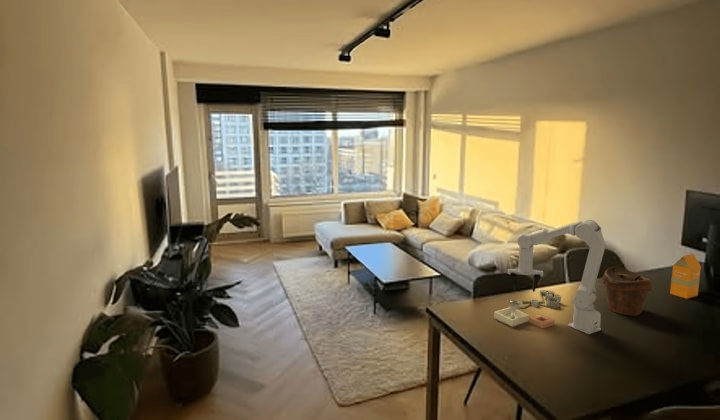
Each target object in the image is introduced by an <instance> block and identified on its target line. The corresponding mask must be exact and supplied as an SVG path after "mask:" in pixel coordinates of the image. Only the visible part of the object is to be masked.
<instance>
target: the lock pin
mask: <svg viewBox="0 0 720 420" xmlns="http://www.w3.org/2000/svg"><path fill="white" fill-rule="evenodd" d="M517 301H518V300H515V299H508V304H509V307H510V314H509V318H510V319H515V313H516V310H517Z"/></svg>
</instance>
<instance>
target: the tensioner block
mask: <svg viewBox="0 0 720 420" xmlns="http://www.w3.org/2000/svg"><path fill="white" fill-rule="evenodd" d="M528 323H529V324H532V325H534V326H536V327H538V328H541V329H546V328H549V327H551V326H554V325H555V323H556V321H555V319H554V318H553V319H552V318H550V317H548V316H545V315H543V314H537V315H533V316H531V317H530V316H529V322H528Z"/></svg>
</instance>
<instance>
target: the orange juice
mask: <svg viewBox="0 0 720 420" xmlns="http://www.w3.org/2000/svg"><path fill="white" fill-rule="evenodd" d="M701 271H702V266H701V263H700V262H699V261H698V259H697V257H696V255H695V254H694V253H690V254H685V255H683V256H682V257H681V258H680V259H678V261H676V263H674V264H673V265H672V272H671V273H672V274H671V280H670V291H669V294H671V295H674V296H676V297H681V298H684V299H686V300H687V299H690V298H695V297H697V296H698V295H699V285H700V277H701Z"/></svg>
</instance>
